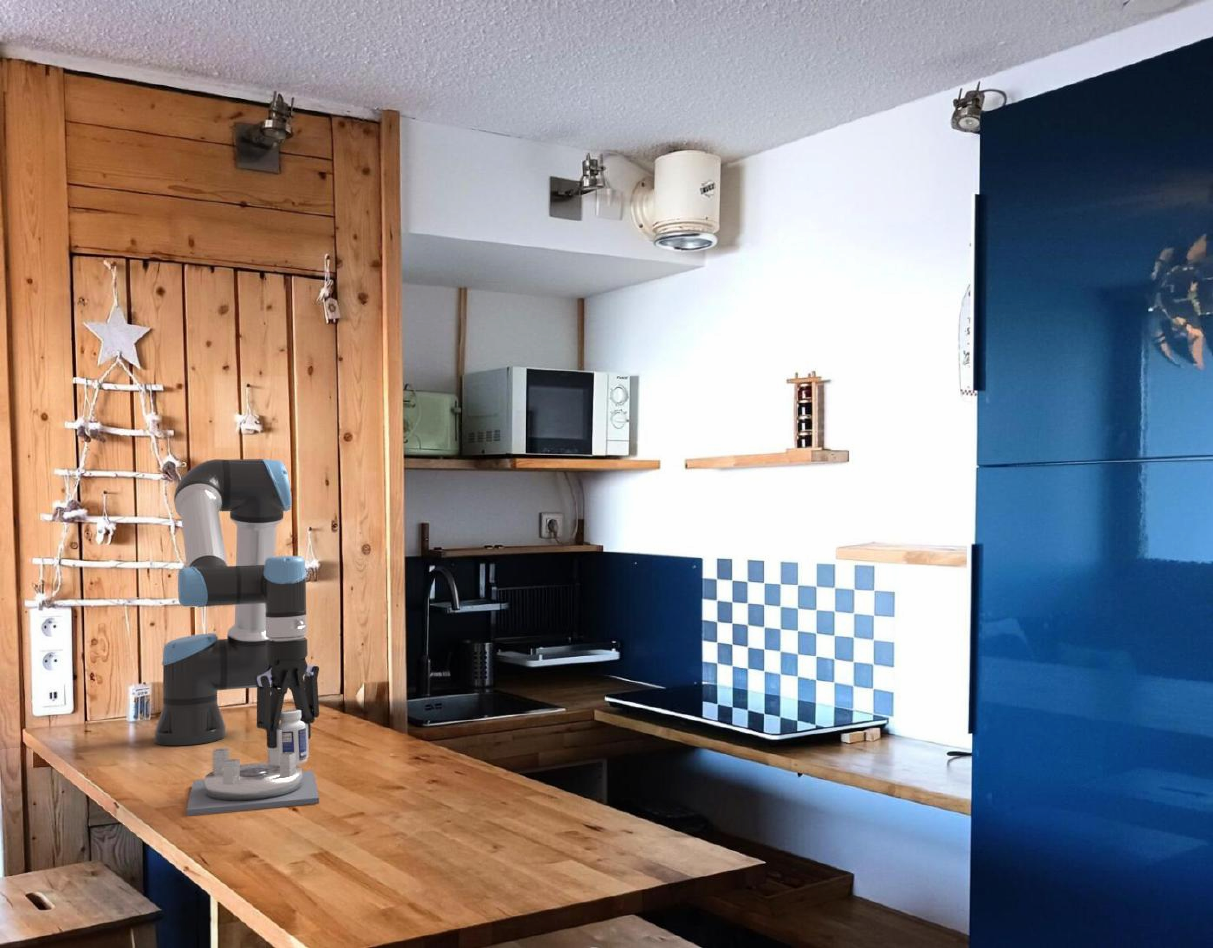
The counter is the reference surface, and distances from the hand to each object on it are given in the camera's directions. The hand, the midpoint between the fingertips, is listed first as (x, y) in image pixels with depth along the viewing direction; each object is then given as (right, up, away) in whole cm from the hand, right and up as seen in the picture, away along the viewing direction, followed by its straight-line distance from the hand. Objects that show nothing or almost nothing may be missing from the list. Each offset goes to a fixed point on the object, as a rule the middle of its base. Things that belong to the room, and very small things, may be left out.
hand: (289, 760), depth 208 cm
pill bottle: (+1, -1, 0) cm, 1 cm away
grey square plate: (-5, -5, -6) cm, 9 cm away
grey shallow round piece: (-5, -3, -6) cm, 8 cm away
